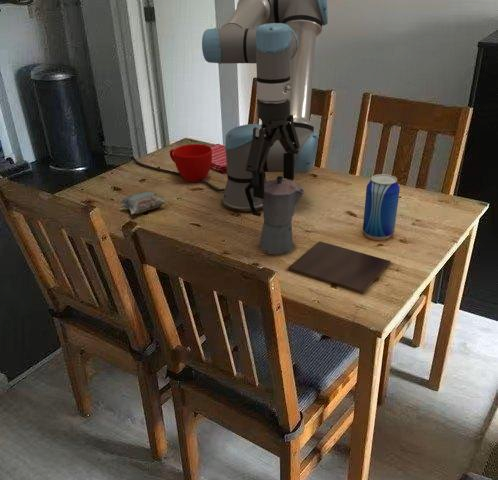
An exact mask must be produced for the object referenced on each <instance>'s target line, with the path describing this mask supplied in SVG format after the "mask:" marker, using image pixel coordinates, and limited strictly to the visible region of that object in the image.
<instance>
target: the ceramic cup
mask: <svg viewBox="0 0 498 480" xmlns="http://www.w3.org/2000/svg"><path fill="white" fill-rule="evenodd" d="M169 156H170V159H171V160H172V162H173V163H174V164H175V166H176V170H177V172H178V173H180V174H181V175H180V176H181V177H182V178H183V179H184V180H185V181H187V182H189V183H199V182H200V181H199V180H200V179H201V180H204V181H205V178H206V177H207V176H208V174H209V173H210V171H211V169H212V168H211V164H212V149H211V147H210V146H209V145H206V144H200V143H190V144H184V145H181V146H178V147H176V148H172V149H170V151H169Z"/></svg>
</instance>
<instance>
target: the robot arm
mask: <svg viewBox="0 0 498 480" xmlns="http://www.w3.org/2000/svg"><path fill="white" fill-rule="evenodd" d="M328 11H329V10H328V0H238V1H237V3H236V8H235V9H234V11H233V12H232V13H231V15H229V18H227V20H226V21H225V22H224V24H223V25H222V26H220V28H217V27H213V28H207V29H205V30H204V32H203V34H202V38H201V50H202V56H203V58H204V61H206V62H207V63H209V64H218V65H221V64H256V66H255V67H256V99H257V100H258V101H257V102H256V108H257V109H256V112H257V113H256V114H257V118H258V119H259V120H260V122H261V124H259V123H248V124H247V123H246V124H243V125H239V126H236V127H234V128H233V127H232V128H231V129H229V131H227V133H226V134H225V145H224V146H225V150H226V163H227V172H226V176H227V178H226V179H227V180H226V184H225V187H224V188H218V187H215V186H213V184H211V183H210V182H207V181H206V180H205V179H204V180H201V179H200V180H199V182H201V183H203V184H205V185H207V186H209V187H210V188H211V189H213V190H214V191H217V192H223V194H222V205H223V206H224V207H225V209H228V210H229V211H230V210H231V211H233V212H237V213H252V211H251V208H250V205H249V202H248V199H247V196H246V194H245V188H246V187H247V185H249V184H250V183H251V181H252V183H253V188H251V189H250V193H251V197H252V200H253V204H254V208H255V210H256V212H260V211H263V204H262V199H263V198H265V197H264V183H265V182H268V180H267V177H266V173H276V174H277V173H279V174H283V176H282V177H283V180H287V181H294V180H295V175H297V174H308V173H310V172H311V171H312V169H313V167H314V164H315V160H316V156H317V151H318V145H319V144H318V143H319V134H318V132H316V131H314V130H315V126H314V125H313V124H312V122H310V115H311V103H312V90H313V77H314V67H315V53H316V52H315V51H316V40H317V37H318V36H319V35H320V34H322V32H323V31H322V30H323V26H326V25H328V24H329V22H328V21H329V15H328ZM130 160H131V161H134V162H135V164H138V165H139V166H141V167H145V168H147V169H151V170H156V171H160V172H164V173H170V174H173V175H178V176H181V174H180V173H179V172H178V171H173V170H168V169H163V168H161V167H155V166H151V165H148V164H145V163H142V162H139V161H138V160H137V159H136V157H135V156H131V158H130Z"/></svg>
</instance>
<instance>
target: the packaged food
mask: <svg viewBox="0 0 498 480" xmlns="http://www.w3.org/2000/svg"><path fill="white" fill-rule="evenodd" d="M167 202H168V201H167V200H166V199H163V198H161V197H159V196H158V195H157V194H156V193H155V192H152V191H148V190H146V191H142V192H139V193H135V194H130V195H128V196H126V197H124V198H122V201H121V202H120V205H119V206H120V208H121V209H122V208H124V209H127V210H129V212H130V215H131V216H132V215H134V214H135V215H140V214H142V213H146V212H149V211H152V210H155V209H157V208H160V207H162V206H163V205H165V204H167Z"/></svg>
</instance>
